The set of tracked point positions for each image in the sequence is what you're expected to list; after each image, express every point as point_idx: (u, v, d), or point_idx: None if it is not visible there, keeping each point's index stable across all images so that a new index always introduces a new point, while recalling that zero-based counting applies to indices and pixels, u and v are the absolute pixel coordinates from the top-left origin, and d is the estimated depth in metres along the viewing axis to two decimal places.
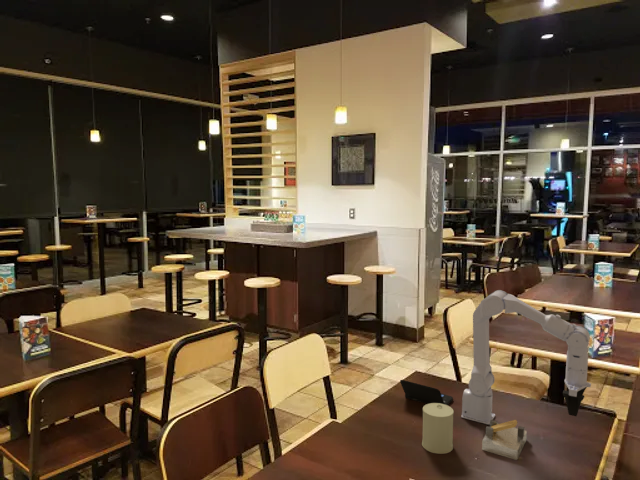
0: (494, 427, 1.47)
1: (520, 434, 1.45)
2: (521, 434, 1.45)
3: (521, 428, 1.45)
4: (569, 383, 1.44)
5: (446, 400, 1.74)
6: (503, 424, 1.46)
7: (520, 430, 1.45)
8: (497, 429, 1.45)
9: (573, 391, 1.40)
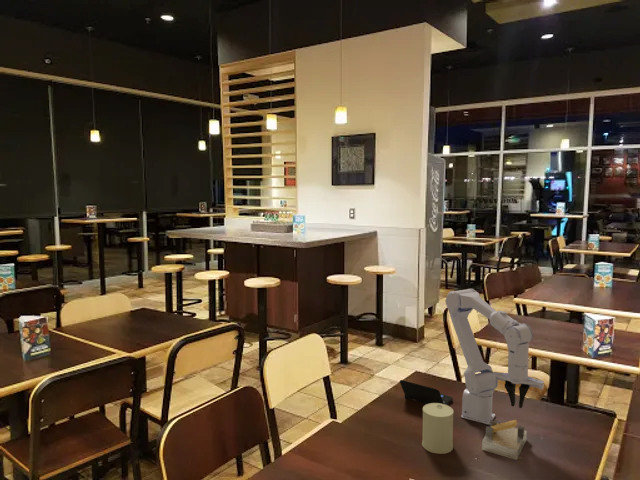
0: (494, 427, 1.47)
1: (520, 434, 1.45)
2: (521, 434, 1.45)
3: (521, 428, 1.45)
4: None
5: (446, 400, 1.73)
6: (503, 424, 1.46)
7: (520, 430, 1.45)
8: (497, 429, 1.45)
9: None
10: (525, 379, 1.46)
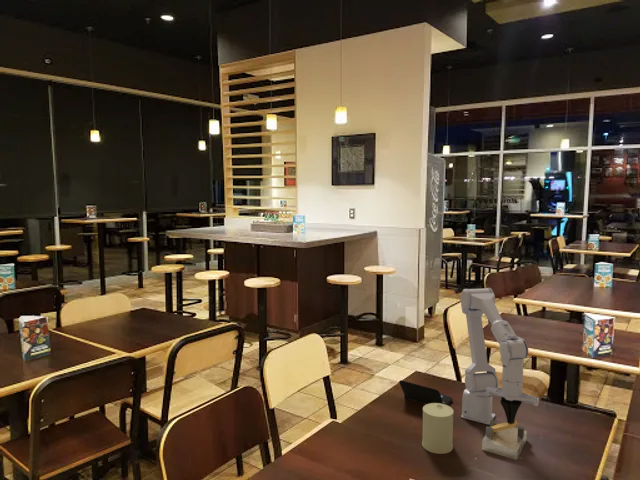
0: (494, 427, 1.47)
1: (520, 434, 1.45)
2: (521, 434, 1.45)
3: (521, 428, 1.45)
4: None
5: (445, 401, 1.73)
6: (503, 424, 1.46)
7: (520, 430, 1.45)
8: (497, 429, 1.45)
9: None
10: (519, 395, 1.41)
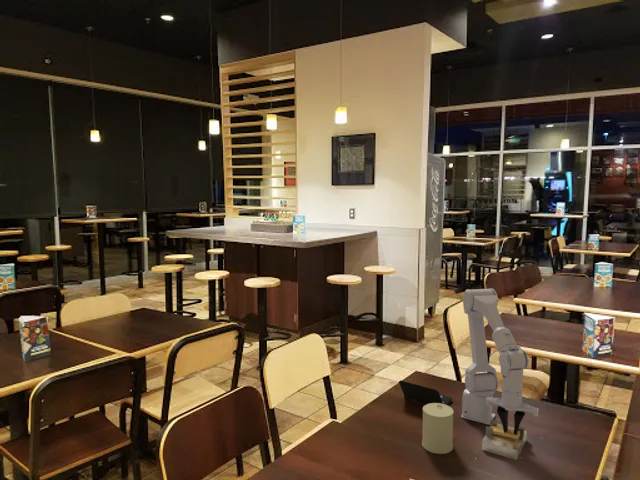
0: (495, 429, 1.47)
1: (520, 434, 1.45)
2: (521, 434, 1.45)
3: (521, 428, 1.45)
4: None
5: (445, 401, 1.73)
6: None
7: (520, 430, 1.45)
8: (498, 433, 1.45)
9: None
10: (519, 406, 1.41)
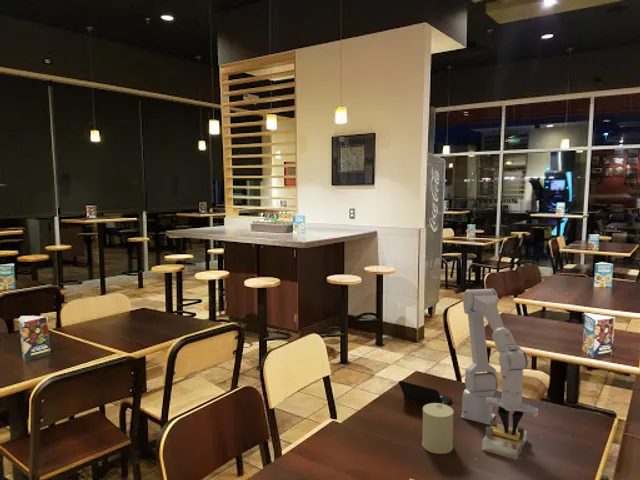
0: (495, 429, 1.47)
1: (520, 434, 1.45)
2: (521, 434, 1.45)
3: (521, 428, 1.45)
4: None
5: (445, 401, 1.73)
6: None
7: (520, 430, 1.45)
8: (498, 433, 1.45)
9: None
10: (519, 406, 1.41)
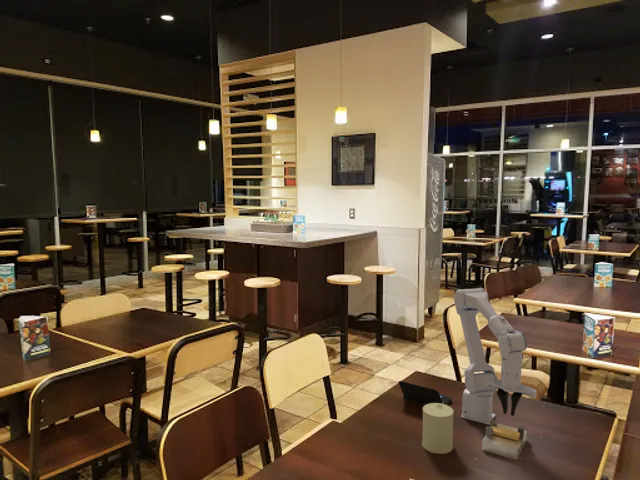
0: (495, 429, 1.47)
1: (520, 434, 1.45)
2: (521, 434, 1.45)
3: (521, 428, 1.45)
4: None
5: (445, 401, 1.73)
6: (506, 431, 1.46)
7: (520, 430, 1.45)
8: (498, 433, 1.45)
9: None
10: (518, 387, 1.44)
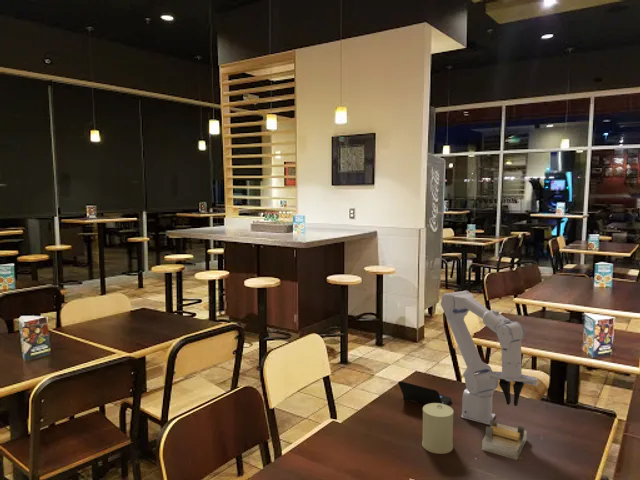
0: (495, 429, 1.47)
1: (520, 434, 1.45)
2: (521, 434, 1.45)
3: (521, 428, 1.45)
4: None
5: (444, 401, 1.73)
6: (506, 431, 1.46)
7: (520, 430, 1.45)
8: (498, 433, 1.45)
9: None
10: (519, 376, 1.47)
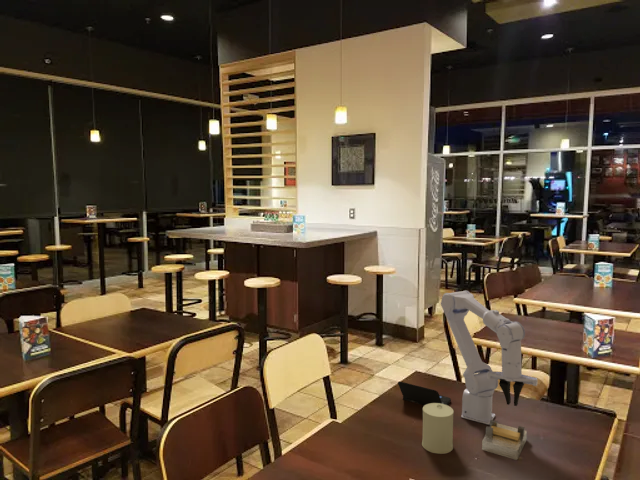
0: (495, 429, 1.47)
1: (520, 434, 1.45)
2: (521, 434, 1.45)
3: (521, 428, 1.45)
4: None
5: (444, 401, 1.73)
6: (506, 431, 1.46)
7: (520, 430, 1.45)
8: (498, 433, 1.45)
9: None
10: (519, 376, 1.47)
